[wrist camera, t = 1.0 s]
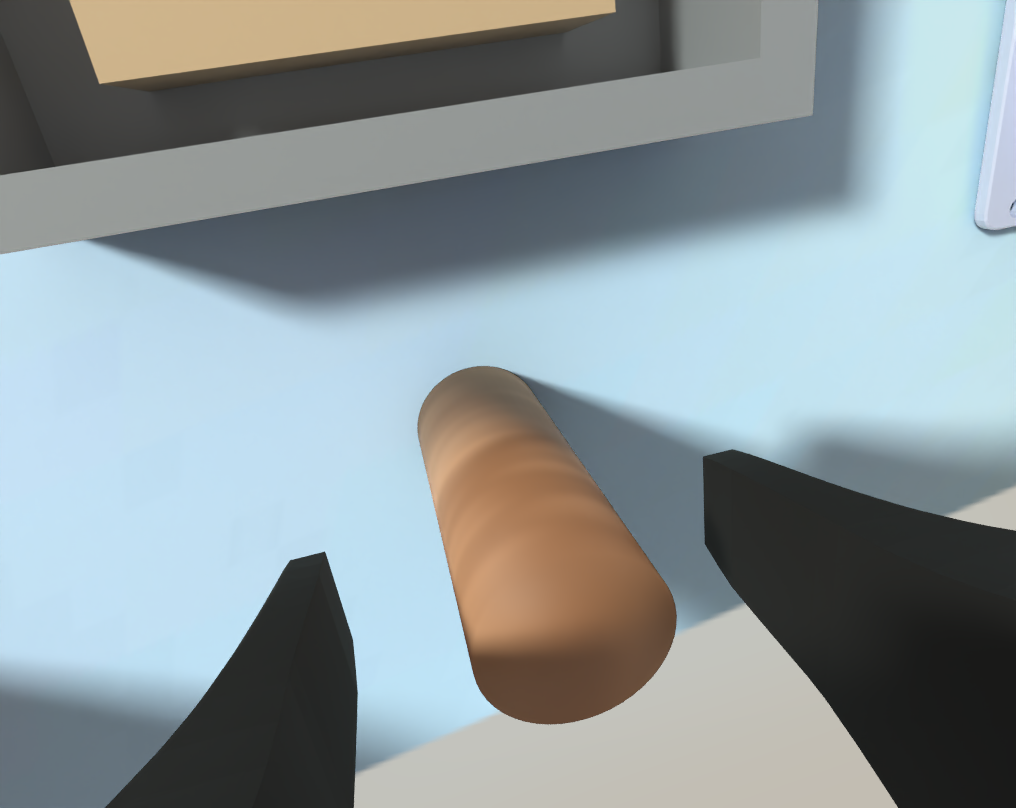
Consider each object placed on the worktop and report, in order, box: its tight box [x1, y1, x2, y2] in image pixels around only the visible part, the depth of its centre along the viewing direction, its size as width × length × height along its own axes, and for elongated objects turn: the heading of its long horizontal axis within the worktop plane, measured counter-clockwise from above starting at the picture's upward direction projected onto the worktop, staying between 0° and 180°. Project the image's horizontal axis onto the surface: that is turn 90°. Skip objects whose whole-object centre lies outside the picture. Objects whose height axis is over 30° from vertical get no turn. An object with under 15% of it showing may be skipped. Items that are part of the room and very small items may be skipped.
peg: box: [418, 366, 677, 724], centre depth 13 cm, size 3×3×8 cm
